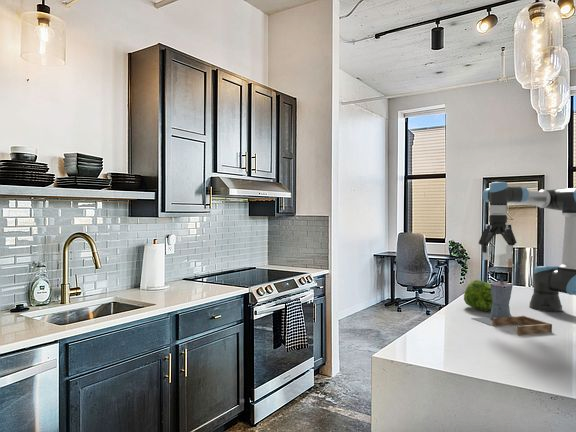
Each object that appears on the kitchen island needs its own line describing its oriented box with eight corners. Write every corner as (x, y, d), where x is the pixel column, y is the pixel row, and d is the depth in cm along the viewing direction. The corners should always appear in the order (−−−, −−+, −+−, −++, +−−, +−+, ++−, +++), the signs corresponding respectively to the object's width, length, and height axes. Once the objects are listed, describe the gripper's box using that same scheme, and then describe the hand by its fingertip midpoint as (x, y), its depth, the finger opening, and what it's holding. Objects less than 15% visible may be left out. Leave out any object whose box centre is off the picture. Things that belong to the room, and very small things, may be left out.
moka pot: (494, 323, 196) (495, 280, 196) (484, 315, 212) (485, 275, 211) (516, 324, 195) (517, 281, 194) (504, 316, 210) (505, 275, 210)
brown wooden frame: (523, 323, 199) (523, 315, 199) (551, 332, 184) (552, 324, 184) (492, 325, 193) (492, 317, 193) (519, 335, 179) (519, 326, 179)
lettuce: (498, 321, 212) (510, 293, 210) (457, 302, 223) (468, 275, 222) (502, 319, 225) (514, 293, 224) (463, 301, 237) (474, 276, 235)
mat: (498, 316, 210) (498, 316, 210) (518, 323, 198) (518, 322, 198) (470, 318, 205) (470, 318, 205) (490, 325, 193) (490, 325, 193)
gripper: (512, 214, 210) (511, 257, 210) (470, 214, 202) (470, 259, 203) (525, 214, 203) (524, 259, 203) (482, 214, 195) (481, 261, 196)
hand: (497, 259), depth 203 cm, fingers open, 13 cm apart
